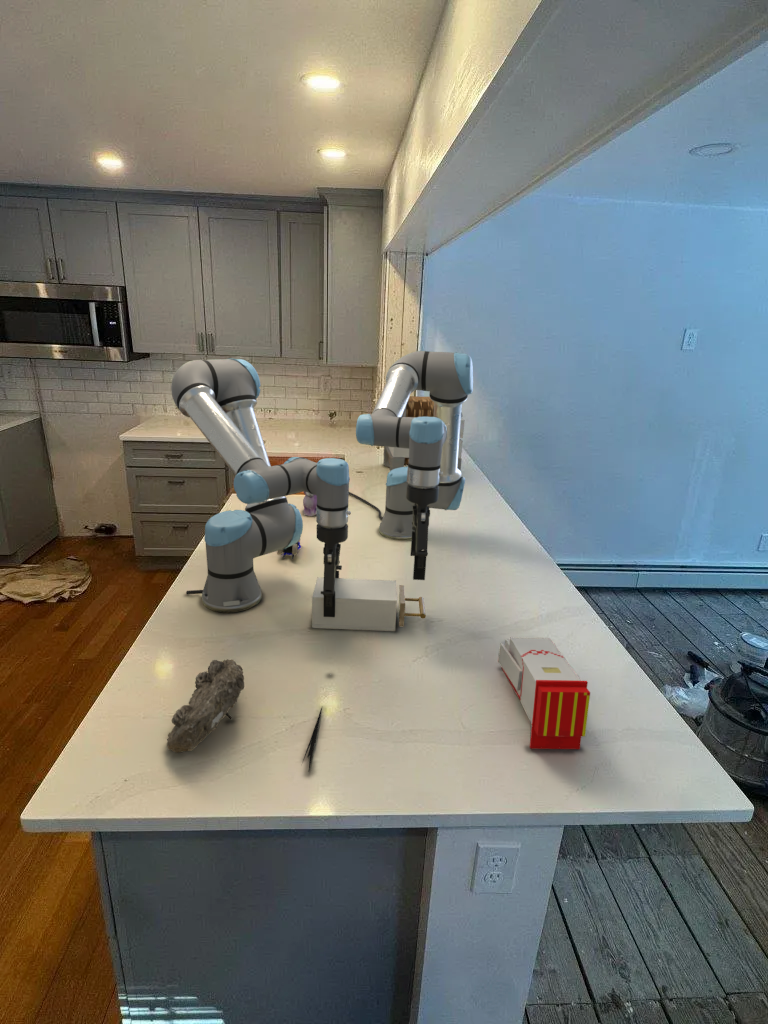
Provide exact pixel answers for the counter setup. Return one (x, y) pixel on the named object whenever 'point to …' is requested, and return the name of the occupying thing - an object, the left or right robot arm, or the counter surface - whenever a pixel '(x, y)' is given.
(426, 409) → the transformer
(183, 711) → the fossil
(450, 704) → the counter surface
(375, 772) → the counter surface
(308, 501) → the figurine
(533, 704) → the toy
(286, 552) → the figurine character
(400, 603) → the drawer
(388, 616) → the cabinet
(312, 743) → the feather
